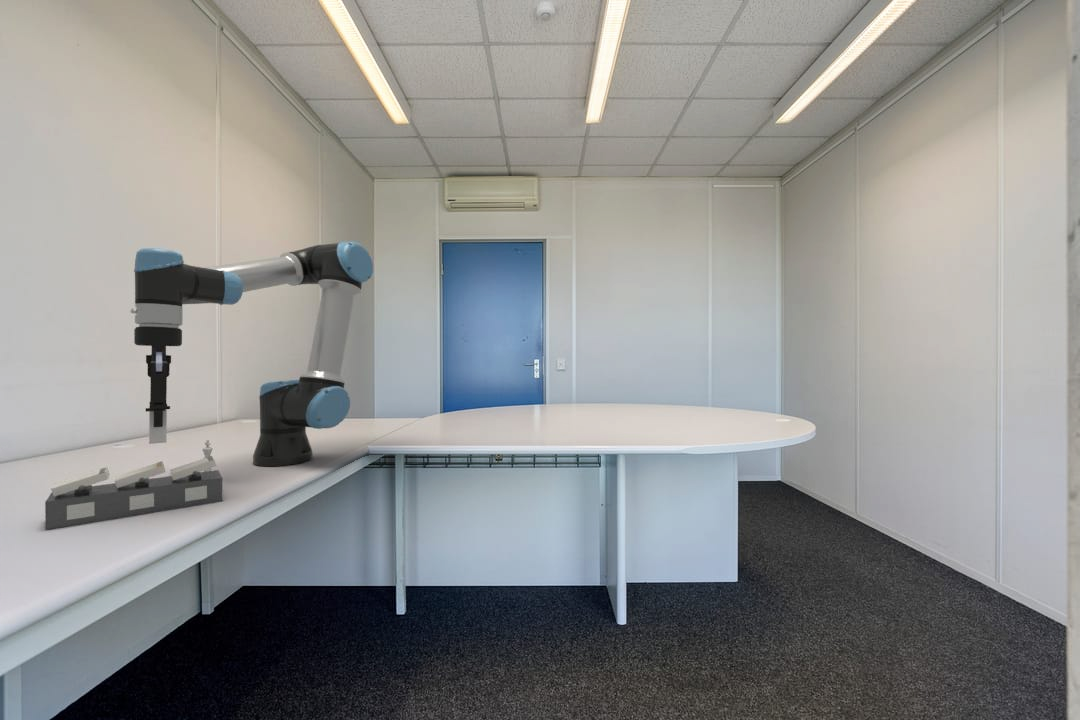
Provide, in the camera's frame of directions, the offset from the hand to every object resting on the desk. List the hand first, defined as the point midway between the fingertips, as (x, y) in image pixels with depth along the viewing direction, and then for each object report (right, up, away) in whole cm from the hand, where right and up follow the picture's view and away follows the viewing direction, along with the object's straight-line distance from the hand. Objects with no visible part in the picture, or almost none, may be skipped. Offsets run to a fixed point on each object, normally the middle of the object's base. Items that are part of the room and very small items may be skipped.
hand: (157, 442), depth 96 cm
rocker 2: (-2, -7, -1) cm, 7 cm away
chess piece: (-3, -13, +19) cm, 23 cm away
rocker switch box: (-2, -13, -1) cm, 13 cm away
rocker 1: (-9, -7, -7) cm, 13 cm away
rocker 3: (+4, -7, +4) cm, 9 cm away
